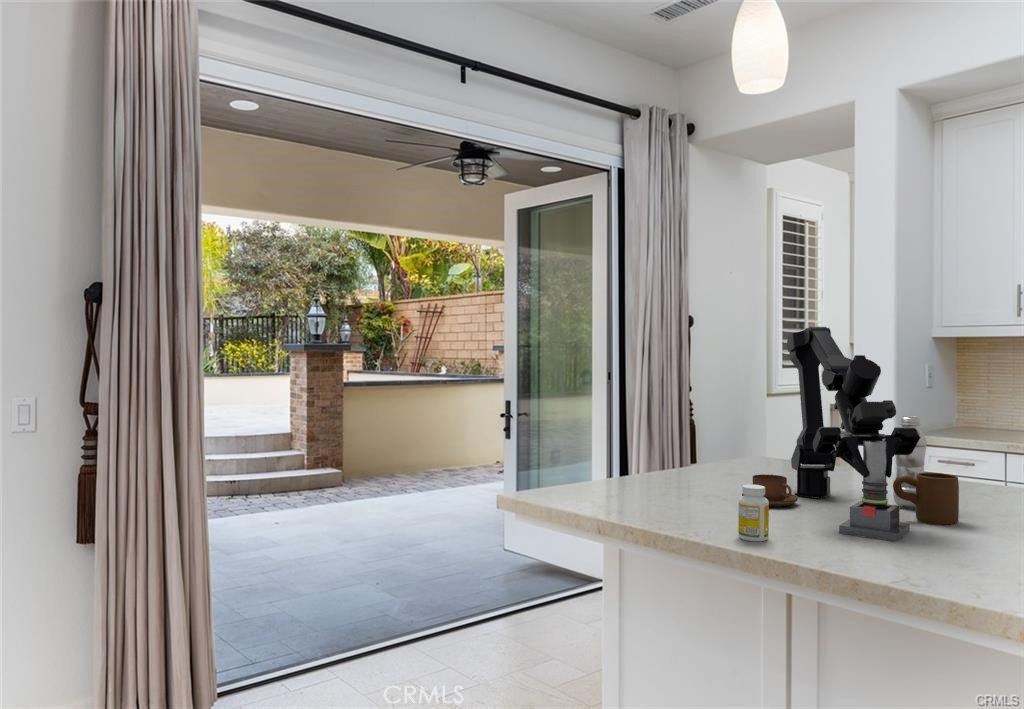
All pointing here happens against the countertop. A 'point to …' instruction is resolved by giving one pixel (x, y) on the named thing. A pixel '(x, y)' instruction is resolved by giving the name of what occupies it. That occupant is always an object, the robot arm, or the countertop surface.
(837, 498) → the countertop surface
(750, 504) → the supplement bottle
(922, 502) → the mug
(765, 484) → the cup and saucer
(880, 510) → the stand sleeve
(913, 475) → the plastic bottle
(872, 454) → the grey ridged cylinder
